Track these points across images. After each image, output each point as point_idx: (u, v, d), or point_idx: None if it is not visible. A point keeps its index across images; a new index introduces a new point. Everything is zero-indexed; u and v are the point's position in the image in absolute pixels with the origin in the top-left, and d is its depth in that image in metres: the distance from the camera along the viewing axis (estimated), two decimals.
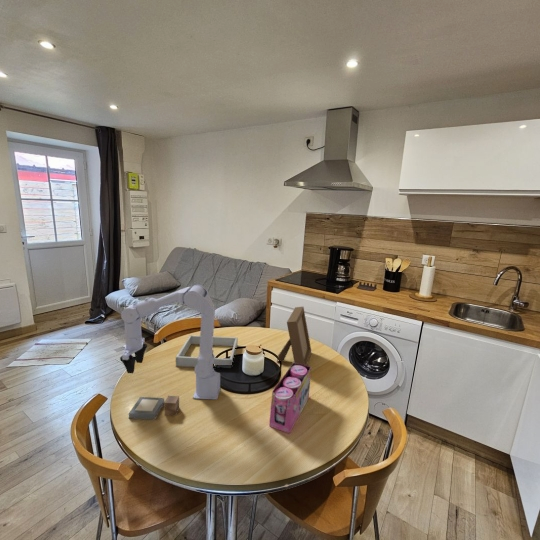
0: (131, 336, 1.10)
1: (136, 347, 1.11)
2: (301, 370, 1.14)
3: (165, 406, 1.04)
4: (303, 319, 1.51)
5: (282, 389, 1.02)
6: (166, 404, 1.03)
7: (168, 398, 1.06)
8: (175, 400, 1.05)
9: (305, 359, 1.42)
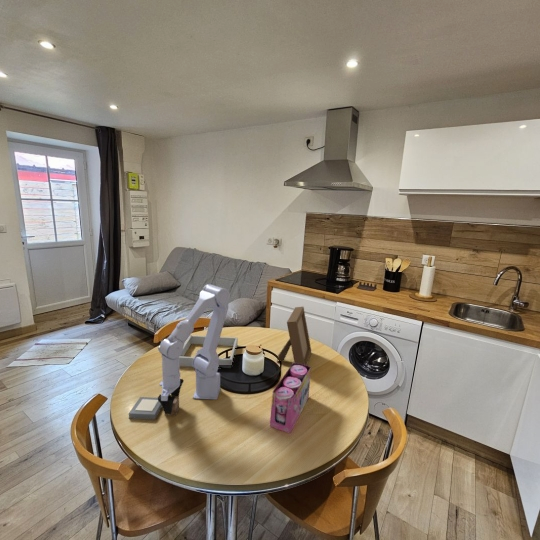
0: (176, 372, 1.02)
1: (174, 385, 1.02)
2: (301, 370, 1.14)
3: None
4: (303, 319, 1.51)
5: (282, 389, 1.02)
6: None
7: None
8: (175, 400, 1.05)
9: (305, 359, 1.42)
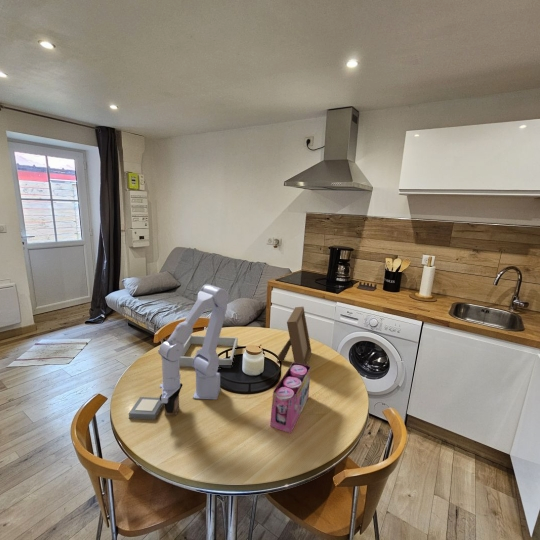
0: (176, 374, 1.02)
1: (174, 387, 1.02)
2: (301, 370, 1.14)
3: None
4: (303, 319, 1.51)
5: (283, 389, 1.02)
6: None
7: None
8: (175, 400, 1.05)
9: (305, 359, 1.42)
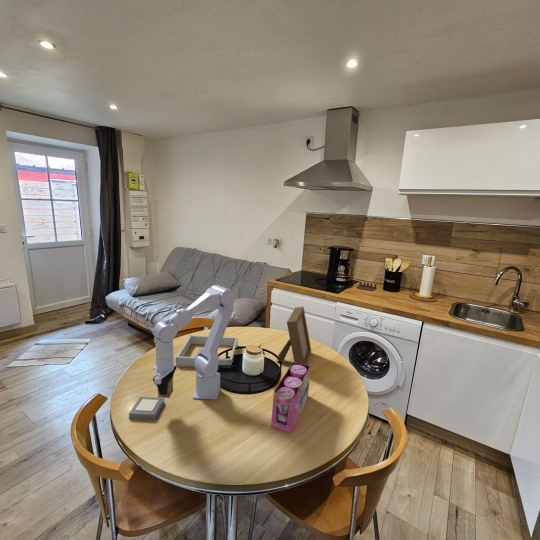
0: (169, 356, 1.00)
1: (168, 369, 1.01)
2: (301, 369, 1.14)
3: None
4: (303, 319, 1.51)
5: (283, 389, 1.02)
6: None
7: None
8: (169, 382, 1.03)
9: (305, 359, 1.42)
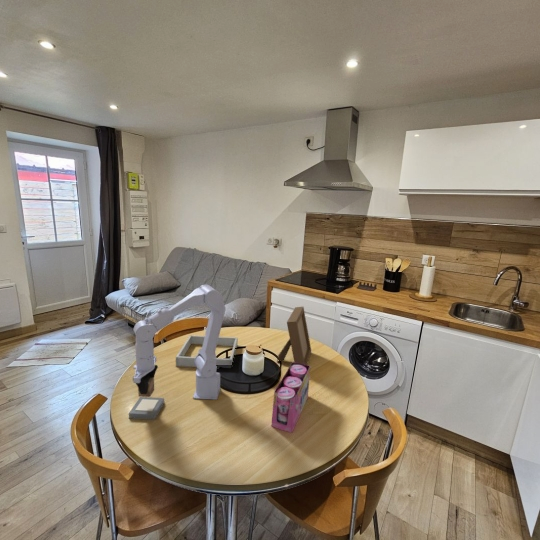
0: (147, 355, 1.00)
1: (148, 368, 1.01)
2: (301, 369, 1.14)
3: None
4: (303, 319, 1.51)
5: (284, 389, 1.02)
6: None
7: None
8: (149, 381, 1.03)
9: (305, 359, 1.42)
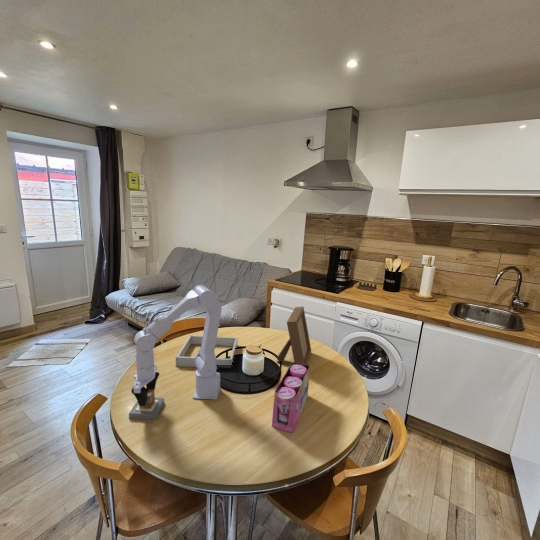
0: (148, 365, 1.00)
1: (148, 378, 1.01)
2: (301, 369, 1.14)
3: None
4: (303, 319, 1.51)
5: (284, 389, 1.02)
6: None
7: None
8: (150, 393, 1.04)
9: (305, 359, 1.42)
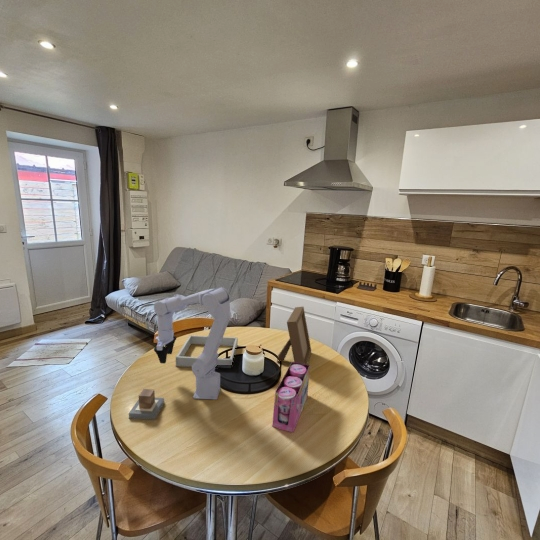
0: (161, 328, 1.17)
1: (168, 339, 1.19)
2: (301, 369, 1.15)
3: (140, 399, 1.03)
4: (303, 319, 1.51)
5: (284, 389, 1.02)
6: (140, 397, 1.03)
7: (143, 391, 1.05)
8: (150, 393, 1.04)
9: (305, 359, 1.42)
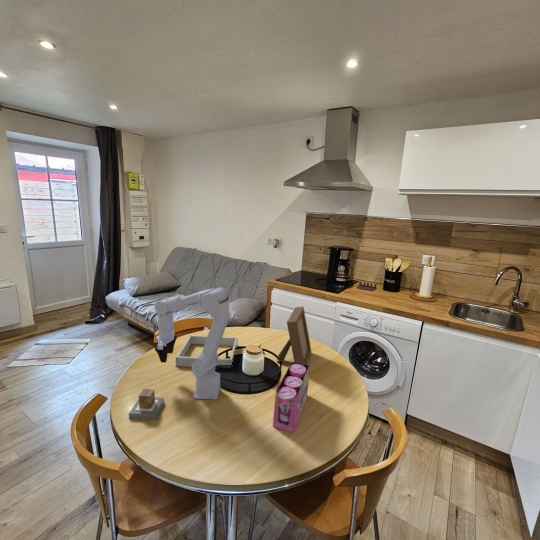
0: (162, 327, 1.18)
1: (169, 338, 1.19)
2: (300, 369, 1.15)
3: (140, 399, 1.03)
4: (303, 319, 1.51)
5: (285, 389, 1.02)
6: (140, 397, 1.03)
7: (143, 391, 1.05)
8: (150, 393, 1.04)
9: (305, 359, 1.42)
